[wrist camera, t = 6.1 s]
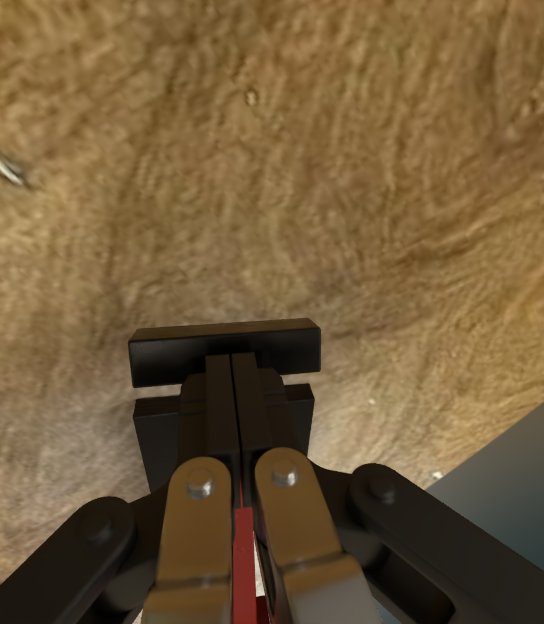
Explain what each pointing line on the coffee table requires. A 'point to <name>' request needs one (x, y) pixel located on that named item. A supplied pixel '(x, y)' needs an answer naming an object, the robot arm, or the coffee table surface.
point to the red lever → (227, 340)
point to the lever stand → (165, 425)
